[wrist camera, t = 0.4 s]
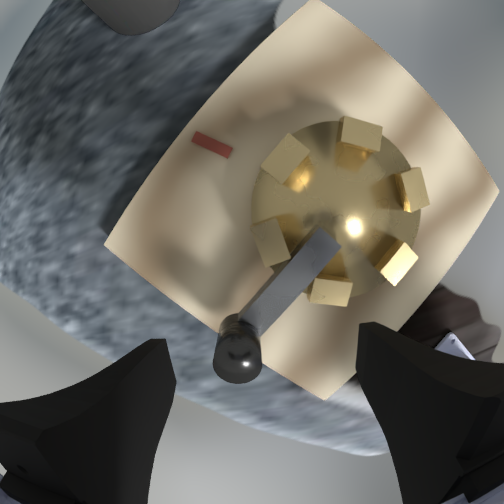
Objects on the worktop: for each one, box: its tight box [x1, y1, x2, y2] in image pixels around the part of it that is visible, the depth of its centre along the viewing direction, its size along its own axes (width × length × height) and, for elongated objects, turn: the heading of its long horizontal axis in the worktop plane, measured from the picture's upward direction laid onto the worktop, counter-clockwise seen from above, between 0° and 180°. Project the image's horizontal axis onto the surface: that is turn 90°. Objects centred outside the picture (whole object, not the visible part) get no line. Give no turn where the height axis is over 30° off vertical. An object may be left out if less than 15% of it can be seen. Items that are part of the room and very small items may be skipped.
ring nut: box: [213, 116, 430, 384], centre depth 15 cm, size 10×15×6 cm, turn 141°
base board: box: [104, 0, 499, 401], centre depth 18 cm, size 20×22×2 cm
